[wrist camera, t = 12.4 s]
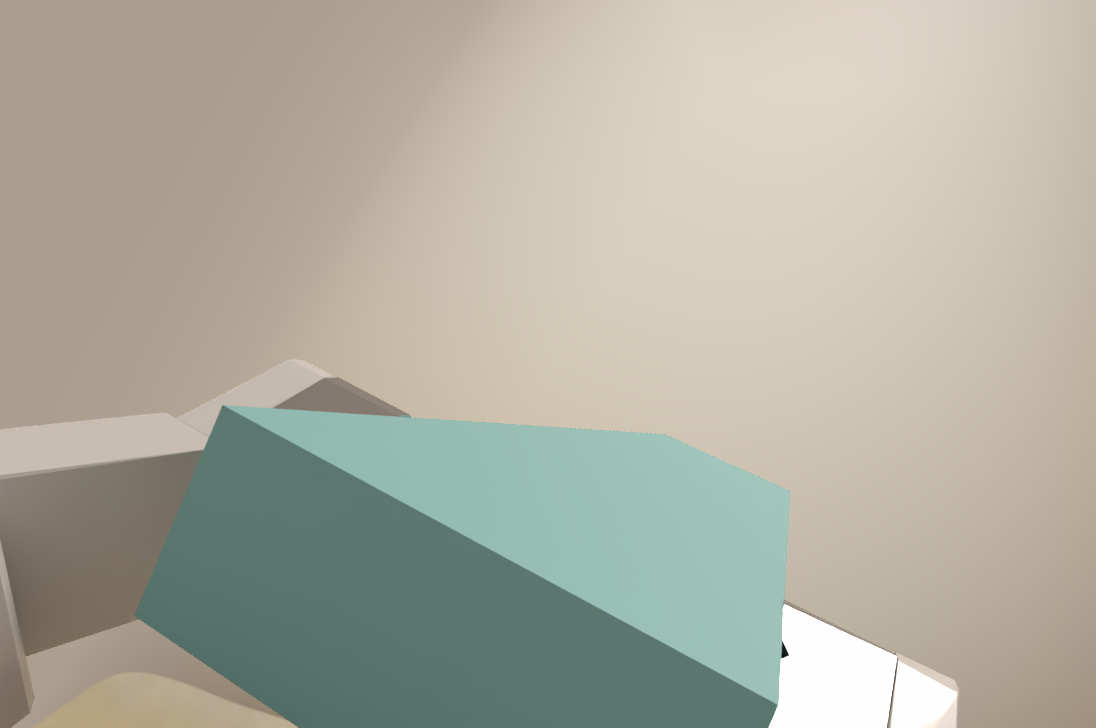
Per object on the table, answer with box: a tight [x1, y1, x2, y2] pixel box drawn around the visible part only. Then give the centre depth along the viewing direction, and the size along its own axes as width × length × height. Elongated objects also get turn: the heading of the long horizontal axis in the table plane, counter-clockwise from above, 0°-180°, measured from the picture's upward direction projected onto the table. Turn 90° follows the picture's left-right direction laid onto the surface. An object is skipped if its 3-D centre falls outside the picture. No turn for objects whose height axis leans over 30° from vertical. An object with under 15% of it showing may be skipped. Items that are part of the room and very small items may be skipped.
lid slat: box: [134, 405, 790, 728], centre depth 14 cm, size 20×4×2 cm, turn 162°
